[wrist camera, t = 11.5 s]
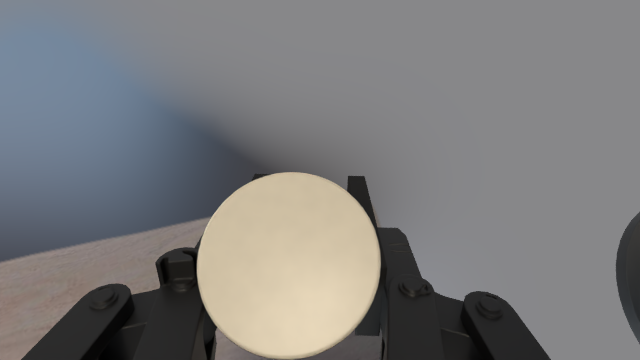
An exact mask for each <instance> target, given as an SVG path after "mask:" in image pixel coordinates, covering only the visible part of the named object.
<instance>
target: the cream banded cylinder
mask: <svg viewBox="0 0 640 360" xmlns="http://www.w3.org/2000/svg"><path fill="white" fill-rule="evenodd" d="M380 270H381V256H380V248H379V242H378V238H377V235H376V232H375V229H374V227H373V224H372V222H371V220H370V218H369V217H368V215H367V213H366V212H365V210H364V209H363V207H362V206H361V205H360V204H359V203H358V201H357V200H356V199H355V198H354V197H353V196H352V195H350V194H349V193H348V192H347V191H346V190H344V189H343V188H341V187H340V186H339V185H337V184H335V183H333V182H331V181H329V180H327V179H324V178H322V177H319V176H315V175H311V174H306V173H298V172H286V173H277V174H273V175H268V176H264V177H262V178H259V179H256V180H254V181H252V182H250V183H248V184H246V185H244V186H243V187H241V188H240V189H238V190H237V191H235V192H234V193H233V194H232V195H231V196H230V197H228V198H227V199H226V200H225V201H224V202H223V203H222V205H221V206H220V207H219V208H218V209H217V211H216V212H215V214H214V215H213V216H212V218H211V220H210V221H209V223H208V225H207V227H206V229H205V232H204V234H203V237H202V239H201V243H200V247H199V251H198V259H197V279H198V287H199V291H200V295H201V298H202V301H203V304H204V306H205V308H206V311H207V313H208V314H209V316H210V318H211V319H212V321H213V323H214V324H215V325H216V326H217V327H218V329H219V330H220V331H221V332H222V333H223V334H224V335H225V336H226V337H227V338H228V339H229V340H230V341H232V342H233V343H235V344H236V345H238V346H239V347H241V348H242V349H244V350H246V351H248V352H250V353H253V354H255V355H259V356H262V357H265V358H271V359H277V360H294V359H301V358H307V357H310V356H314V355H317V354H320V353H322V352H324V351H326V350H328V349H330V348H332V347H334V346H335V345H337V344H338V343H340V342H341V341H343V340H344V339H345V338H346V337H347V336H348V335H350V334H351V333H352V332H353V331H354V329H355V328H356V327H357V326H358V325H359V324H360V323H361V321H362V320H363V318H364V317H365V315H366V314H367V312H368V310H369V308H370V306H371V304H372V302H373V300H374V297H375V294H376V291H377V288H378V284H379V279H380Z"/></svg>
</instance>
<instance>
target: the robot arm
mask: <svg viewBox="0 0 640 360" xmlns="http://www.w3.org/2000/svg"><path fill="white" fill-rule="evenodd" d="M268 175H271V174H255V175H254V177H253V179H252V181H254V180H256V179H259V178H262V177H264V176H268ZM252 181H251V182H252ZM347 192H348V193H349V194H350V195H352V196H353V197H354V198H355V199H356V200H357V201H358V203H359V204H360V205H361V206H362V207H363V209H364V210H365V212H366V213H367V215H368V217H369V218H370V220H371V222H372V224H373V227H374V229H375V232H376V235H377V238H378V242H379V248H380V256H381V270H380V279H379V284H378V288H377V291H376V294H375V297H374V300H373V302H372V304H371V306H370V308H369V310H368V312H367V314H366V315H365V317H364V318H363V320H362V321H361V323H360V324H359V325H358V326H357V327H356V328H355V334H356V335H364V336H379V333H380V325H381V330H382V344H381V352H380V360H551V359H550V358H549V357H548V355H547V354H546V352H545V351H544V350H543V348H542V347H541V346H540V344H539V343H538V342H537V340H536V339H535V338H534V336H533V335H532V334H531V332H530V331H529V330H528V328H527V327H526V325H525V324H524V323H523V321H522V320H521V319H520V317H519V316H518V314H517V313H516V312H515V310H514V309H513V308H512V307H511V306H510V305H509V304H508V303H507V302H506V301H505V300H503V299H502V298H500V297H498V296H496V295H494V294H491V293H488V292H481V291H476V292H471V293H469V294H468V295H466V296H465V299H464V301H460V300H456V299H452V298H448V297H445V296H442V295H440V294H438V293H436V292H434V289H433V287H432V285H431V284H430V283H429V282H428V281H426V280H425V279H423V278H422V277H421V274H420V272H419V269H418V267H417V264H416V261H415V258H414V256H413V253H412V251H411V248H410V246H409V243H408V240H407V237H406V235H405V234H404V233H402V232H401V231H400V230H399V229H398V228H377V224H376V220H375V216H374V212H373V208H372V204H371V200H370V196H369V193H368V189H367V185H366V181H365V177H364V176H348V187H347ZM203 234H204V233H203ZM202 237H203V235H202ZM202 237H201V238H200V240H199V242H198V243H197V245H196V247H195V248H187V247H184V248H178V249H174V250H172V251H169V252H167V253H165V254H164V255H162V256H161V257H159V259H158V260H157V261H156V263H155V264H156V268H157V272H158V277H159V281H160V288H159V289H156V290H152V291H148V292H143V293H138V294H133V295H131V291H130V289H129V288H128V287H127V286H126V285H123V284H108V285H105V286H101V287H98V288H96V289H94V290H92V291H90V292H89V293H88V294H86V295H85V296H84V297H82V298H81V299H80V300H79V301H78V302H77V303H76V304H75V305H74V306H73V307H72V308H71V309H70V310H69V311H68V313H67V314H66V315H65V316H64V317H63V318H62V319H61V320H60V321H59V322H58V323H57V324H56V325H55V326H54V327H53V328H52V329H51V330H50V331H49V332H48V333H47V334H46V335H45V336H44V337H43V338H42V339H41V340H40V341H39V342H38V343H37V344H36V345H35V346H34V347H33V348H32V349H31V350H30V351H29V352H28V353H27V354H26V355H25V356H24V357H23V358H22V359H21V360H214V359H215V352H216V344H217V343H216V335H215V331H216V328H217V326H216V325H215V324H214V323H213V321H212V319H211V318H210V316H209V314H208V313H207V311H206V308H205V306H204V304H203V301H202V298H201V295H200V291H199V287H198V279H197V259H198V251H199V247H200V243H201V239H202Z"/></svg>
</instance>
